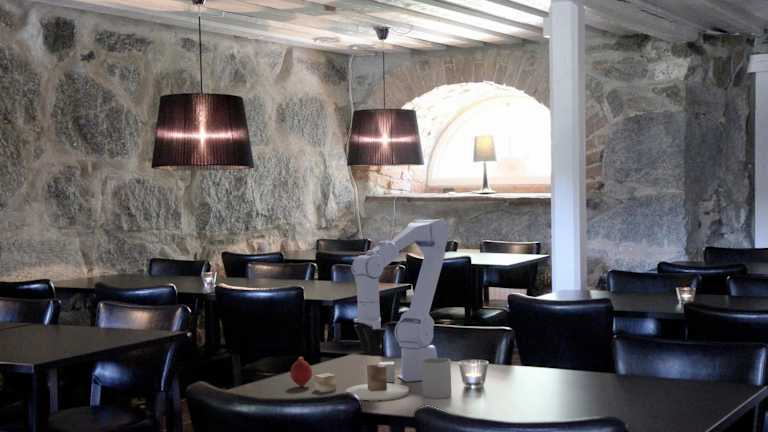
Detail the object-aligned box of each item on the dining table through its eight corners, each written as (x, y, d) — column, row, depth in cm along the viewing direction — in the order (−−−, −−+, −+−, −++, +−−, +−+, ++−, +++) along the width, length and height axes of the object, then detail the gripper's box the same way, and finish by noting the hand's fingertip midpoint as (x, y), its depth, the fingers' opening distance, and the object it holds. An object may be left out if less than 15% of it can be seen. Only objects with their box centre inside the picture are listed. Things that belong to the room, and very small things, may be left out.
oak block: (328, 388, 261) (327, 373, 261) (336, 390, 258) (335, 375, 258) (315, 390, 259) (314, 375, 259) (323, 392, 255) (322, 377, 255)
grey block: (394, 379, 269) (393, 361, 269) (395, 382, 265) (394, 364, 265) (379, 380, 269) (379, 362, 269) (380, 383, 265) (379, 364, 265)
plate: (398, 385, 260) (398, 381, 260) (416, 397, 245) (416, 392, 245) (339, 391, 256) (339, 386, 256) (354, 403, 241) (354, 398, 241)
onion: (309, 389, 260) (307, 358, 260) (288, 388, 261) (287, 358, 261) (315, 384, 266) (313, 355, 266) (294, 384, 267) (293, 355, 267)
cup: (417, 397, 244) (416, 362, 244) (436, 390, 253) (435, 355, 253) (443, 400, 241) (441, 364, 240) (461, 392, 249) (460, 357, 249)
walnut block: (382, 387, 253) (382, 364, 253) (386, 390, 249) (386, 366, 249) (367, 388, 252) (366, 365, 252) (371, 391, 248) (370, 367, 248)
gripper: (346, 299, 263) (348, 350, 263) (361, 305, 249) (363, 358, 249) (372, 297, 265) (373, 348, 265) (387, 303, 251) (389, 356, 251)
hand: (370, 353), depth 257 cm, fingers open, 7 cm apart
